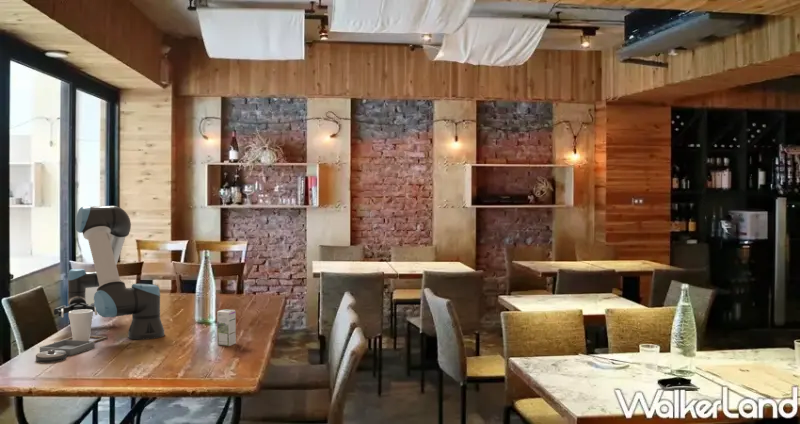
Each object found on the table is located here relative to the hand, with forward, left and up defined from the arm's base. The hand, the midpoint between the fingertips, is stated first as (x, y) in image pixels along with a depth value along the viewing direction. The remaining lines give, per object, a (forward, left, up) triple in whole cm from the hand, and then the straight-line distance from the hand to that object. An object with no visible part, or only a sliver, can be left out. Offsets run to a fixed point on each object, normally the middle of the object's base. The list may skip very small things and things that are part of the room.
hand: (79, 313), depth 310 cm
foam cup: (-7, +8, -11) cm, 15 cm away
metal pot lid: (-17, +38, -10) cm, 43 cm away
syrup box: (-70, -2, -11) cm, 71 cm away
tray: (-13, +24, -10) cm, 29 cm away
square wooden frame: (-7, +8, -10) cm, 15 cm away
